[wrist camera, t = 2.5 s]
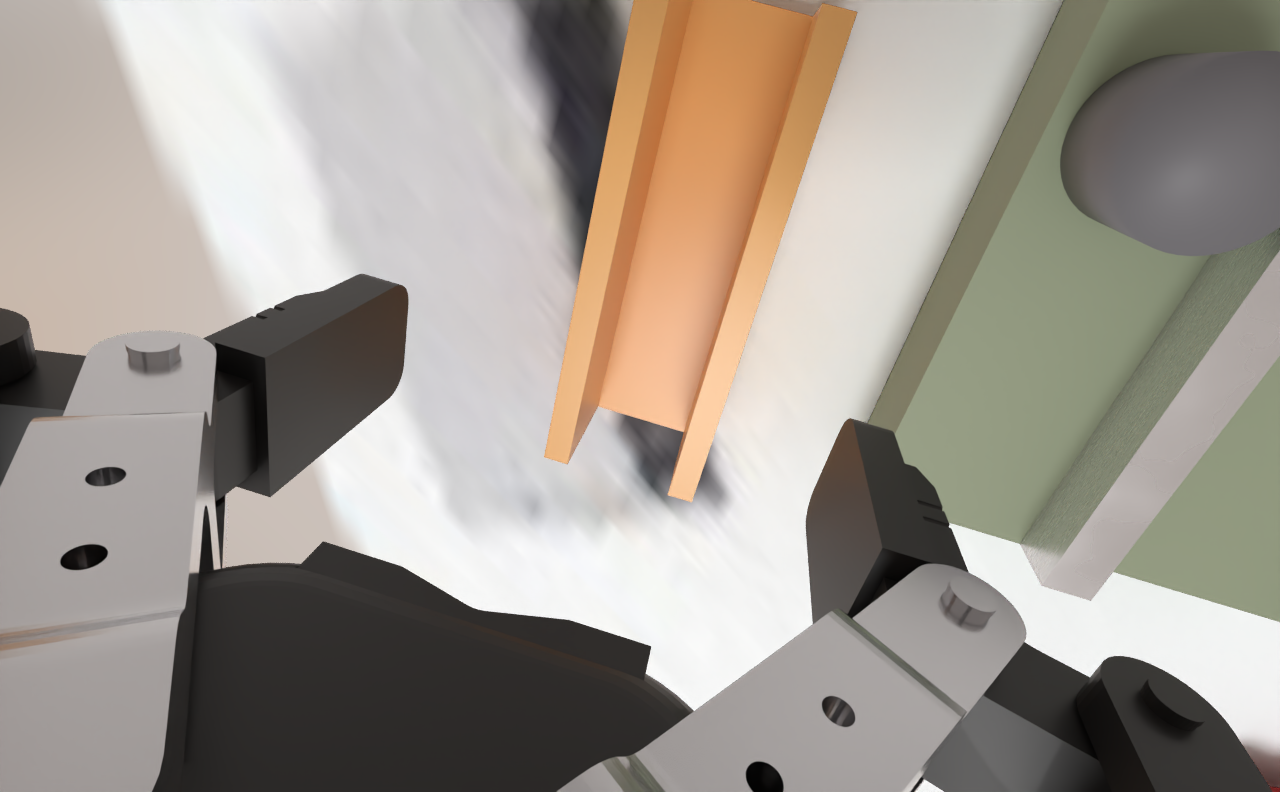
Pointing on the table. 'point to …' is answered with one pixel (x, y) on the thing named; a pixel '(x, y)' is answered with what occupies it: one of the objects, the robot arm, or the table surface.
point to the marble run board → (1106, 283)
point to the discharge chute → (691, 211)
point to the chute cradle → (1162, 419)
